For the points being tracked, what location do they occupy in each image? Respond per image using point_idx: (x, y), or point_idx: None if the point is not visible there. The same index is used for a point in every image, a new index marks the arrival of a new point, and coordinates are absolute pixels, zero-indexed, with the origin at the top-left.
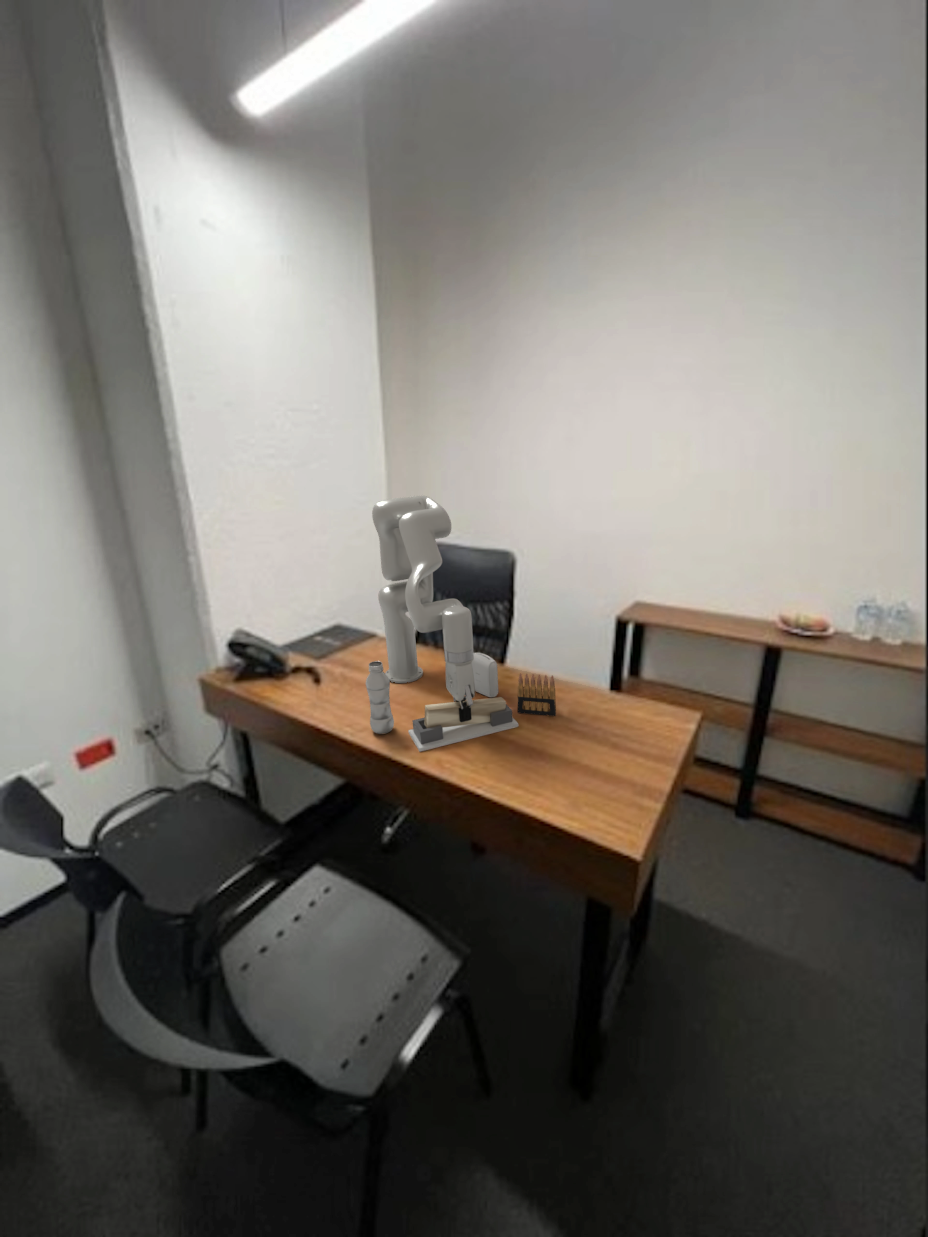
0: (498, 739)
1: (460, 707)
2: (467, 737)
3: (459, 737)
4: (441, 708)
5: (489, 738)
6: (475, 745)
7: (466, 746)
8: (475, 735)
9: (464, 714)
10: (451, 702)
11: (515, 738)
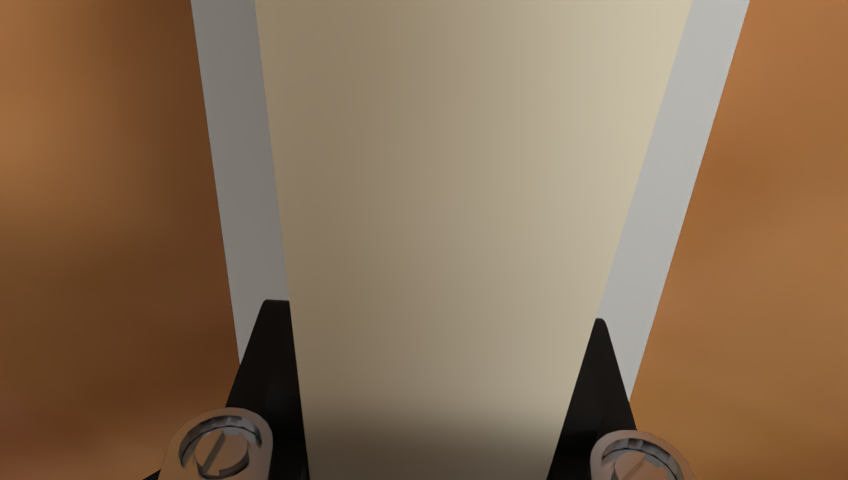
0: (133, 376)
1: (265, 436)
2: (219, 164)
3: (219, 78)
4: (276, 48)
5: (175, 328)
6: (80, 172)
7: (84, 79)
8: (228, 250)
9: (248, 366)
10: (569, 390)
11: (109, 469)
